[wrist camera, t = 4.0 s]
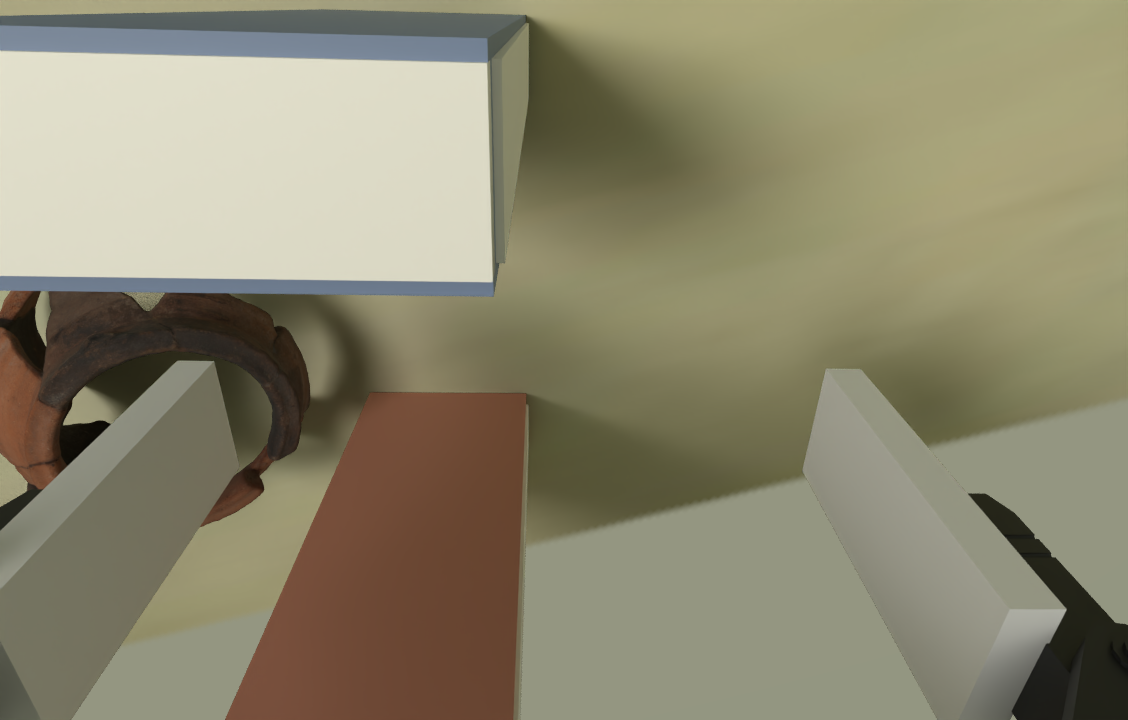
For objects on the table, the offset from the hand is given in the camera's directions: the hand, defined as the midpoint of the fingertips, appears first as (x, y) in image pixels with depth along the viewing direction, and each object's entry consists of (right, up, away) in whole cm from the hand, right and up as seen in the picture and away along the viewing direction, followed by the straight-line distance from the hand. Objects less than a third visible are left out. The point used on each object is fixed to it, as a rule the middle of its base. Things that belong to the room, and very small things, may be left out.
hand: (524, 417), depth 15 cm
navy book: (-3, +10, +6) cm, 12 cm away
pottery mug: (-16, +2, +11) cm, 19 cm away
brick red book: (-4, -1, +12) cm, 13 cm away
